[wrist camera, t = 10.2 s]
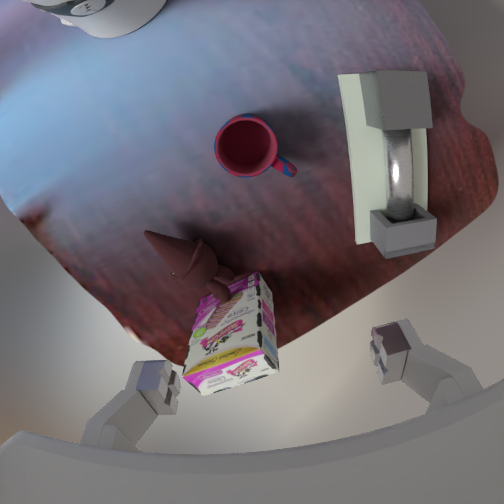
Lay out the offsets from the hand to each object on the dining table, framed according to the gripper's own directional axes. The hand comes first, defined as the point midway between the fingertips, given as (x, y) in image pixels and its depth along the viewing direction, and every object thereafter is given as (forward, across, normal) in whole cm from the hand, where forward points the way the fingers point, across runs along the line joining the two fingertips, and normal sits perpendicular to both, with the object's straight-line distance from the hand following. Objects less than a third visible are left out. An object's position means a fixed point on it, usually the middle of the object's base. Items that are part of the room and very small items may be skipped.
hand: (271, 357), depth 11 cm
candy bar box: (+31, +7, +19) cm, 37 cm away
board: (+31, -19, +1) cm, 36 cm away
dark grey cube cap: (+30, -19, -8) cm, 36 cm away
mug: (+31, -1, -3) cm, 31 cm away
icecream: (+31, +11, +10) cm, 35 cm away
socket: (+30, -19, +10) cm, 37 cm away
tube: (+30, -19, +4) cm, 36 cm away
